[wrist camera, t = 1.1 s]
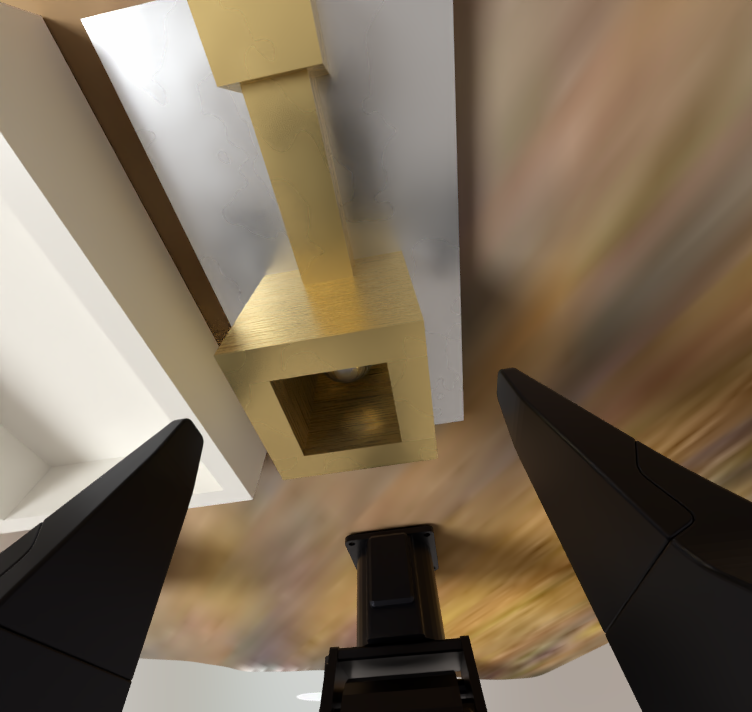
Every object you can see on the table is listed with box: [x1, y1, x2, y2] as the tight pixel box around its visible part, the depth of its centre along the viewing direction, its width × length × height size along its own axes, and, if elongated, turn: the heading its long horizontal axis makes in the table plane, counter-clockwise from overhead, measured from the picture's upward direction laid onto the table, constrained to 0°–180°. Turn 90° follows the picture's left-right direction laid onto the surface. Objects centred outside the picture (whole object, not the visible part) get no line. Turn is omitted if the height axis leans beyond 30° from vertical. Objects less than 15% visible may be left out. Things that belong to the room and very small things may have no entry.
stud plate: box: [81, 0, 464, 425], centre depth 11 cm, size 16×9×4 cm, turn 10°
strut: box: [187, 0, 438, 480], centre depth 9 cm, size 12×5×5 cm, turn 10°
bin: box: [0, 2, 267, 534], centre depth 13 cm, size 17×13×4 cm
